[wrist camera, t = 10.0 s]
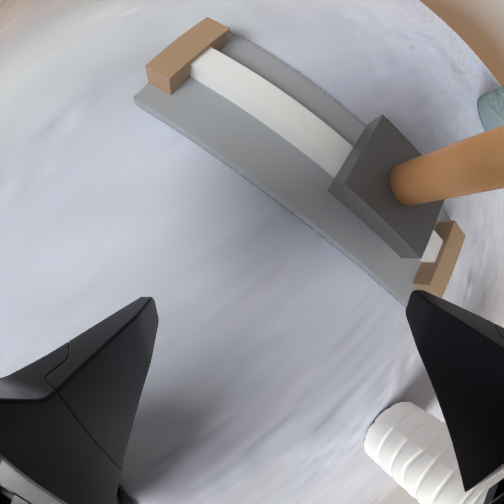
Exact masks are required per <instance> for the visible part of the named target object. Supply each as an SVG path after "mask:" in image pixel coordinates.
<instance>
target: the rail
mask: <svg viewBox="0 0 504 504" xmlns="http://www.w3.org/2000/svg"><path fill="white" fill-rule="evenodd" d="M229 30H230V28H228V27H226V26H224V25H222V24H220V23H218V22H216V21H214V20H212V19H210V18H208V17H207V18H205V19H204V20H202V21H201V22H199V23H198V24H197V25H195V26H194V27H192V28H191V29H190V30H188V31H187V32H186V33H184V34H183V35H182V36H180V37H179V38H178V39H177V40H175V41H174V42H173V43H172V44H170V45H169V46H168V47H167V48H166V49H164V50H163V51H162V52H161V53H160V54H158V55H157V56H156V57H155V58H154V59H153V60H152V61H150V62H149V63H148V64H147V65H146V71H147V77H148V82H149V83H148V84H147V85H146V86H145V87H144V88H143V89H142V90H141V91H140V92H139V93H138V94H137V95H136V96H135V97H134V101H135V104H136V105H137V106H139V107H140V108H142V109H143V110H145V111H147V112H148V113H150V114H151V115H153V116H155V117H156V118H158V119H159V120H161V121H162V122H164V123H165V124H167V125H169V126H170V127H172V128H173V129H175V130H176V131H178V132H179V133H181V134H182V135H184V136H185V137H187V138H188V139H190V140H191V141H193V142H194V143H196V144H197V145H199V146H200V147H202V148H203V149H205V150H206V151H208V152H209V153H210V154H212V155H213V156H215V157H216V158H218V159H219V160H221V161H222V162H223V163H225V164H226V165H228V166H229V167H231V168H232V169H233V170H235V171H236V172H238V173H239V174H240V175H242V176H243V177H245V178H246V179H247V180H249V181H250V182H251V183H253V184H254V185H256V186H257V187H258V188H260V189H261V190H262V191H264V192H265V193H266V194H268V195H269V196H270V197H272V198H273V199H274V200H276V201H277V202H278V203H280V204H281V205H282V206H284V207H285V208H286V209H288V210H289V211H290V212H292V213H293V214H294V215H295V216H297V217H298V218H299V219H301V220H302V221H303V222H305V223H306V224H307V225H308V226H310V227H311V228H312V229H313V230H315V231H316V232H317V233H318V234H320V235H321V236H322V237H324V238H325V239H326V240H327V241H328V242H330V243H331V244H332V245H333V246H335V247H336V248H337V249H338V250H340V251H341V252H342V253H343V254H344V255H346V256H347V257H348V258H349V259H351V260H352V261H353V262H354V263H355V264H357V265H358V266H359V267H360V268H361V269H362V270H364V271H365V272H366V273H367V274H368V275H370V276H371V277H372V278H373V279H374V280H375V281H377V282H378V283H379V284H380V285H381V286H382V287H383V288H385V289H386V290H387V291H388V292H389V293H390V294H391V295H393V296H394V297H395V298H396V299H397V300H398V301H399V302H400V303H402V304H403V305H404V306H405V307H406V308H407V304H408V301H409V298H410V294H411V292H412V291H414V290H424V291H426V292H428V293H431V294H433V295H435V296H437V297H439V298H442V296H443V294H444V292H445V289H446V287H447V284H448V282H449V280H450V277H451V275H452V272H453V269H454V267H455V264H456V261H457V259H458V256H459V253H460V250H461V247H462V244H463V241H464V238H465V235H464V233H463V232H462V230H461V229H460V228H459V226H458V225H457V223H456V222H455V221H451V219H450V218H449V217H448V216H447V214H446V213H445V212H444V210H443V209H442V208H441V211H440V214H439V216H438V219H437V222H436V224H435V227H434V230H433V232H432V235H431V237H430V240H429V242H428V245H427V247H426V249H425V252H424V254H423V256H422V259H411V258H401V257H400V256H399V255H398V254H396V253H395V252H394V251H393V250H392V249H391V248H390V247H389V246H388V245H387V244H386V243H385V242H384V241H383V240H382V239H381V238H380V237H379V236H378V235H377V234H376V233H374V232H373V231H372V230H371V229H370V228H369V227H368V226H367V225H366V224H365V223H364V222H362V221H361V220H360V219H359V218H358V217H357V216H356V215H355V214H353V213H352V212H351V211H350V210H349V209H348V208H347V207H346V206H344V205H343V204H342V203H341V202H340V201H339V200H337V199H336V198H335V197H334V196H333V195H331V194H330V193H329V192H328V191H327V189H328V188H329V186H330V185H331V183H332V181H333V180H334V178H335V177H336V175H337V173H338V172H339V170H340V168H341V167H342V165H343V164H344V162H345V160H346V159H347V157H348V155H349V154H350V152H351V150H352V149H353V147H354V145H355V144H356V142H357V140H358V139H359V137H360V135H361V134H362V132H363V130H364V129H365V126H364V125H363V124H362V123H361V122H360V121H358V120H357V119H356V118H355V117H354V116H353V115H351V114H350V113H349V112H348V111H347V110H346V109H344V108H343V107H342V106H341V105H340V104H338V103H337V102H336V101H335V100H333V99H332V98H331V97H330V96H328V95H327V94H326V93H324V92H323V91H322V90H321V89H319V88H318V87H317V86H315V85H314V84H312V83H311V82H310V81H308V80H307V79H306V78H304V77H303V76H301V75H300V74H299V73H297V72H296V71H294V70H293V69H291V68H290V67H288V66H287V65H285V64H284V63H282V62H281V61H279V60H278V59H276V58H275V57H273V56H271V55H270V54H268V53H267V52H265V51H263V50H262V49H260V48H258V47H257V46H255V45H253V44H251V43H250V42H248V41H246V40H244V39H243V38H241V37H239V36H237V35H235V34H233V33H232V32H230V31H229Z"/></svg>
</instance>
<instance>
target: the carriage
mask: <svg viewBox="0 0 504 504" xmlns="http://www.w3.org/2000/svg"><path fill="white" fill-rule="evenodd" d="M502 188H504V125H503V126H500V127H497V128H494V129H492V130H489V131H486V132H483V133H480V134H478V135H475V136H472V137H469V138H467V139H464V140H461V141H459V142H456V143H453V144H450V145H448V146H445V147H442V148H440V149H437V150H435V151H432V152H429V153H427V154H424V155H421V154H420V153H419V151H418V150H417V149H416V148H415V147H414V146H413V145H412V144H411V143H410V142H409V141H408V140H407V138H406V137H405V136H404V135H403V134H402V133H401V132H400V131H399V130H398V129H397V128H396V127H395V126H394V125H393V124H392V123H391V122H390V121H389V120H388V119H387V118H386V117H385V116H384V115H382V116H380V117H379V118H377V119H376V120H374V121H373V122H371V123H370V124H368V125H367V126H366V127H365V129H364V130H363V132H362V134H361V135H360V137H359V139H358V140H357V142H356V144H355V145H354V147H353V149H352V150H351V152H350V154H349V155H348V157H347V159H346V160H345V162H344V164H343V165H342V167H341V168H340V170H339V172H338V173H337V175H336V177H335V178H334V180H333V181H332V183H331V185H330V186H329V188H328V189H327V191H328V192H329V193H330V194H331V195H333V196H334V197H335V198H336V199H337V200H339V201H340V202H341V203H342V204H343V205H344V206H346V207H347V208H348V209H349V210H350V211H351V212H352V213H353V214H355V215H356V216H357V217H358V218H359V219H360V220H361V221H362V222H364V223H365V224H366V225H367V226H368V227H369V228H370V229H371V230H372V231H373V232H374V233H376V234H377V235H378V236H379V237H380V238H381V239H382V240H383V241H384V242H385V243H386V244H387V245H388V246H389V247H390V248H391V249H392V250H393V251H394V252H395V253H396V254H398V255H399V256H400V257H401V258H411V259H422V256H423V254H424V252H425V249H426V247H427V245H428V242H429V240H430V237H431V235H432V232H433V230H434V227H435V224H436V222H437V219H438V216H439V214H440V211H441V208H442V205H443V202H444V199H448V198H453V197H458V196H464V195H469V194H474V193H480V192H485V191H491V190H496V189H502Z"/></svg>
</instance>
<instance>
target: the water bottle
mask: <svg viewBox="0 0 504 504" xmlns="http://www.w3.org/2000/svg"><path fill="white" fill-rule="evenodd" d="M364 449H365V451H366V453H367V454H368V455H369V456H370V457H371V458H372V459H373V460H374V461H375V462H376V463H377V464H379V465H380V466H381V467H382V468H383V470H384V471H385V472H387V473H388V474H389V475H391V476H392V477H393V479H394V480H395V481H396V482H397V483H398V484H399V485H400V486H401V487H403V488H404V489H406V490H407V492H408V493H409V494H410V495H411V496H412V497H415V498H416V499H417V501H418V502H419V503H420V504H483V503H484V500H485V498H486V495H487V492H488V489H489V488H490V487H492V486H493V485H495V484H496V483H497V482H499V481H500V480H502V479H503V478H504V471H503V469H502V470H500V471H499V472H497V473H496V474H495V475H493V476H492V477H490V478H488V479H487V480H485V481H484V482H482V483H481V484H479V485H477V486H476V487H474V488H472V489H471V490H469V491H467V492H465V490H464V487H463V483H462V478H461V474H460V470H459V466H458V462H457V459H456V455H455V451H454V448H453V443H452V441H451V437H450V434H449V431H448V428H447V425H446V423H444V422H441V421H440V420H439V419H437V418H436V417H434V416H433V415H431V414H428V413H426V412H425V411H424V410H423V409H421V408H420V407H418V406H416V405H415V404H413V403H411V402H399V403H396V404H394V405H392V406H391V407H390V408H388V409H386V410H384V411H383V412H382V413H381V414H380V415H379V416H378V417H377V418H376V419H375V422H374V423H373V424H372V425H371V426H370V427H369V429H368V431H367V433H366V435H365V440H364Z"/></svg>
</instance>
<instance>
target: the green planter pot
mask: <svg viewBox="0 0 504 504" xmlns="http://www.w3.org/2000/svg"><path fill="white" fill-rule="evenodd" d="M477 106H478V112H479V116H480V120H481V122H482V125H483V128H484V130H485V132H486V131H489V130H492V129H494V128H497V127H500V126H503V125H504V86H501V87H500V88H498V89H497V90H494V91H493V92H490V93H489V94H487V95H484V96H483V97H481V98H480V99H479V100H478V103H477Z"/></svg>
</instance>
